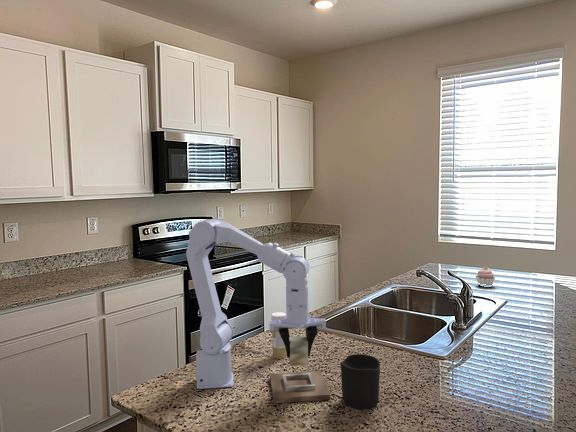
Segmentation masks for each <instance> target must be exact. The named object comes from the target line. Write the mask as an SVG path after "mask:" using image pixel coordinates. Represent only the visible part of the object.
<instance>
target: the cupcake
mask: <svg viewBox="0 0 576 432" xmlns="http://www.w3.org/2000/svg"><path fill="white" fill-rule="evenodd" d="M475 279H476V282H478V283H480V284H486V285H492V284H494V281H495V280H496V276H494V273H493V272H492V270H491V269H490V268H489V267H487V266H484V267H482V268H481V269H480V270H478V271H477V274H476V275H475ZM478 283H477V284H478ZM492 286H493V285H492Z"/></svg>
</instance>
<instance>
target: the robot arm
mask: <svg viewBox="0 0 576 432" xmlns="http://www.w3.org/2000/svg"><path fill="white" fill-rule="evenodd" d="M188 236H189V239H188V242H187V243H188V244H187V248H186V251H185V255H186V260H187V263H188V267H189V271H190V274H191V279H192V284H193V287H194V288H193V289H194V291H195V295H196V299H197V303H198V307H199V311H200V315H201V321H200V325H199V326H200V327H199V332H200V337H199V345H200V348H201V349H200V350H197V351H196V356H195V370H196V371H195V378H196V389H198V390H202V389H203V390H204V389H205V390H206V389H217V388H218V389H219V388H233V387H234V372H232V370H233V369H232V345H231V340H232V338H233V336H234V329H233V326H232V324H231V323H230V322H229V321H228V317H227V315H226V313H224V312H223V311H222V309H221V304H220V300H219V296H218V292H217V289H216V285H215V284H216V283H215V281H214V280H215V279H214V277H213V272H212V268H211V264H210V261H209V254H210V252H211V251H212V250H213V248H214V247H215V246H216V245H217V244H221V243H223V244H224V243H231V244H233V245H235V246H237V247H238V248H239V247H240V248H241V249H243V250H246V251H248V252H250V253H251V254H254V255H256V256H257V258H258V261H259V263H261V264H263V265H264V266H267V268H268V267H269V268H270V269H272V270H274V271H275V272H277V273H280V274H282V275H283V277H284V279H285V283H286V284H285V309H286V310H285V314H286V319H282V320H277V321H272V320H270V321H268V327H269V331H270V332H272V331H274V330H279V333H280V336H281V338H282V340H283V342H284V345H285V348H286V354H287V356H286V358H288V359H289V358H290V348H289V337H291V336H290V332H289V331H290V330H294V329H297V330H298V329H305V336H306V339H307V341H308V357H310V356H311V351H312V347H313V344H314V341H315V339H316V337H317V336H318V332H319V331H318V328H321V329H325V328H327V320H326V318H322V317H321V318H318V317H317V318H316V317H309V286H308V281H309V279H308V276H307V275H308V273H309V271H310V264H309V262H308V260H307V259H306V258H305V257H303V256H302V255H300V254H299V255H296V253H295V252H293V251H291V252H289V251H287V250H285V249H283V248H281V247H279V246H280V244H279V243H277V242H273V243H272V242H266V243H262V242H261V241H259V240H258V239H256V238H254V237H253V236H251V235H249V234H247V233H246V232H243V230H241V229H239V228H237V227H235V226H234V225H233V224H231V223H230V222H226V221H223V220H222V219H220V218H211V219H207V220H202V221H198V222H196V223H195V224H194V225H193V227H192V228H191V229H190V230H189V232H188Z"/></svg>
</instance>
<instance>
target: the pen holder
mask: <svg viewBox="0 0 576 432" xmlns="http://www.w3.org/2000/svg"><path fill="white" fill-rule="evenodd" d="M380 371H381V362H380V360H379V359H378V358H377V357H375V356H372V355H368V354H363V353H361V354H360V353H355V354H349V355H348V356H347V357H345V358H344V360H342V361H341V362H340V377H341V394H342V396H341V397H342V401H343V403H344V404H345V406H347V407H349V408H350V409H351V408H352V409H355V410H370V409H372V408H375V407H376V406H377V405H378V403H379V400H380V399H379V397H380V395H379V394H380V374H381V372H380Z"/></svg>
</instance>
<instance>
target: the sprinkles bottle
mask: <svg viewBox="0 0 576 432" xmlns="http://www.w3.org/2000/svg"><path fill="white" fill-rule="evenodd" d="M282 319H286V312H283V311H282V312H281V311H276V312H272V313H271V320H270V321H277V320H282ZM271 347H272V355H271V356H272V358H274V359H277V360H279V359H284V358H287V354H286V348H285V345H284V342H283V340H282V338H281V336H280V333H279V330H274V331H271Z"/></svg>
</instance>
